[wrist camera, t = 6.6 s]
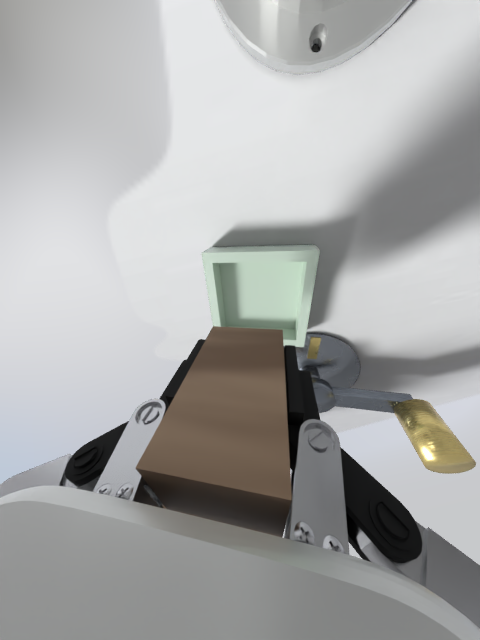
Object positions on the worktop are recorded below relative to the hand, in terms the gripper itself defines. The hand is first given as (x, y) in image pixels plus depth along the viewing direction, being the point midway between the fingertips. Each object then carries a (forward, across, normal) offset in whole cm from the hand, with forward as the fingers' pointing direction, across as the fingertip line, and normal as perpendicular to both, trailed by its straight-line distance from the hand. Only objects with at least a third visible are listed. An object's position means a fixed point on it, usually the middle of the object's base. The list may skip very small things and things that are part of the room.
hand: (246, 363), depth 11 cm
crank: (+6, -10, +9) cm, 15 cm away
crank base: (+9, -6, +9) cm, 15 cm away
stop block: (+1, 0, 0) cm, 1 cm away
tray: (+9, 0, -1) cm, 9 cm away
